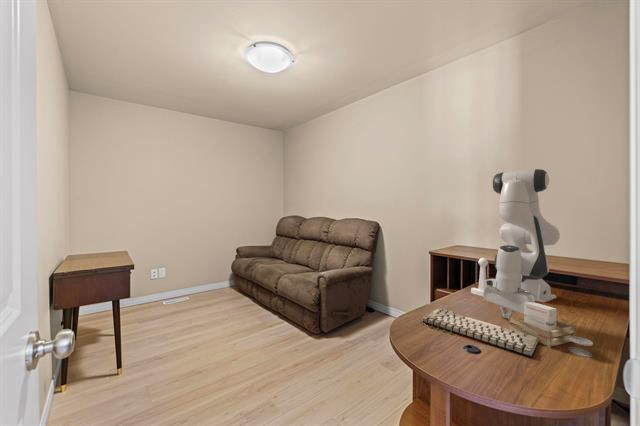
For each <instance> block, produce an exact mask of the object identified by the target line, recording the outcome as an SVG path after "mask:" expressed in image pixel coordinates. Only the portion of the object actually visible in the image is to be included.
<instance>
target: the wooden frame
mask: <svg viewBox="0 0 640 426" xmlns="http://www.w3.org/2000/svg"><path fill="white" fill-rule="evenodd" d="M507 320H508V321H507V329H510V330H513V333H515V331H517V332H520V333H524V334H525V337H526V336H527V335H531V336H534V337H537V339H538V343H539V344H542V345H544V346H546V347H547V348H549V349H550V348H552V347H555V346H560V345H563V344H567V343H572V342H573V341H571V340H570V339H568V337H571V336H576V325H571V324H567V323H565V322H562V321H560V320H557V319H556V330H553V331H547V330H545V329H542V328H539V327H537V326H534V325H532V324H529V323H527V322H524V320H521V319H519V318H517V317H514V316H513V315H512V316H511V315H508V319H507ZM516 325H517V326H516ZM524 328H526V329H528V330H531V331H533V332H536V333H538V334H540V335H543V336H545V337H547V339H546V338H543V337H541V336H538V335H536V334H534V333H531V332H529V331H526V330H524ZM554 337H556V338H554ZM551 338H554V339H551ZM573 343H574V342H573Z"/></svg>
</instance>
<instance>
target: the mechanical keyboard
mask: <svg viewBox="0 0 640 426" xmlns="http://www.w3.org/2000/svg"><path fill="white" fill-rule="evenodd" d="M421 320H422V322H423V323H425V324H426V325H428V327H429V329H432V330H435V331H436V332H437V331H438V332H441V333H444V334H447V335H450V336H453V337H456V338H457V337H458V338H461V339H464V340H466V341H469V342H472V343H477V344H480V345H483V346H484V345H485V346H489V347H493V348H497V349H499V350H503V351H505V352H509V353H512V354H515V355H517V356H521V357H524V358H527V359H530V360H533V358H534V357H535V354H537V353H536V352H537V350H538V348H537V345H538V343H539V342H538V339H537V337H534V336H531V335H527V336H525V334H524V333H520V332H517V331H515V332H514V331H513V330H510V329H508V328H505V327H503V328H502V327H501V326H499V325H496V324H493V323H489V322H486V321H483V320H479V319H475V318H472V317H468V316H465V317H464V316H463V315H460V314H455V312H454V310H448V309H446V308H444V309H443V308H441V307H439V308H437V309H435V310H433V311H432V312H430V313H429V314H426V315H425V316H423V317H422V319H421ZM428 327H427V328H428Z"/></svg>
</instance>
